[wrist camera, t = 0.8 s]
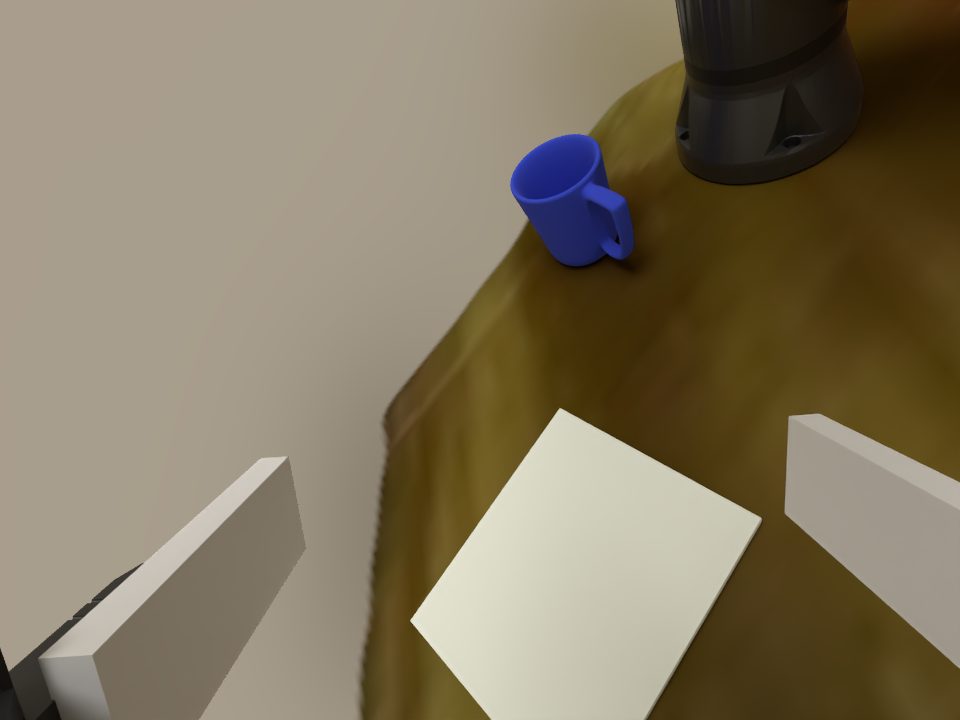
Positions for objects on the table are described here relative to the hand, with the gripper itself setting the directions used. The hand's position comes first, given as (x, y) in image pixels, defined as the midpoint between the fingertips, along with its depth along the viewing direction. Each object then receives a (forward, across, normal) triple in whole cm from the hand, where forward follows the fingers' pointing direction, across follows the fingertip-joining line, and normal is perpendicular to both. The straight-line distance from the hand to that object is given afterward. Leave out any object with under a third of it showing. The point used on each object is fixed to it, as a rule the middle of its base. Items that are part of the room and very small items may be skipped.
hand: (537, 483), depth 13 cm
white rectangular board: (+18, +3, -16) cm, 25 cm away
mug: (+38, +10, +5) cm, 40 cm away
